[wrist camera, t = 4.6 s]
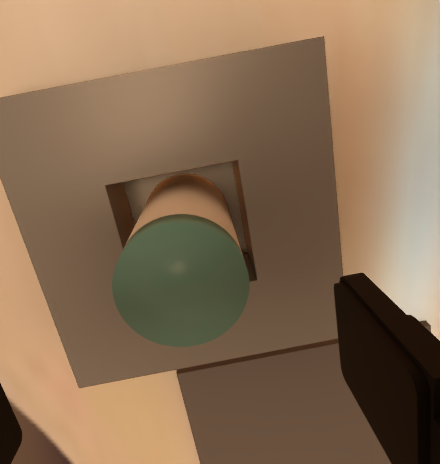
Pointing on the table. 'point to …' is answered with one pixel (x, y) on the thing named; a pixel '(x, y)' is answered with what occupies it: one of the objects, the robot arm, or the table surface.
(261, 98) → the housing
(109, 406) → the table surface
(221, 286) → the filter cartridge
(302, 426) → the mat
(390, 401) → the robot arm
